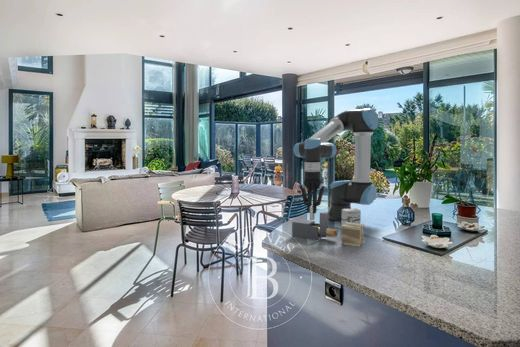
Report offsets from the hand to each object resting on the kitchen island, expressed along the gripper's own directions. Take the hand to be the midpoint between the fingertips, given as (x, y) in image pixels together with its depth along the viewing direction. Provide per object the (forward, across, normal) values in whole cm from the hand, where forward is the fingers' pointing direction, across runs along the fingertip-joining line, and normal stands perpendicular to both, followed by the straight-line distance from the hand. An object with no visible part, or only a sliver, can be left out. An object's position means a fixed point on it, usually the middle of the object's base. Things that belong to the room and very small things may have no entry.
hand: (312, 219), depth 161 cm
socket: (+9, +20, 0) cm, 22 cm away
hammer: (+7, +3, 0) cm, 8 cm away
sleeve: (+9, -2, 0) cm, 9 cm away
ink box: (+9, +14, +19) cm, 25 cm away
